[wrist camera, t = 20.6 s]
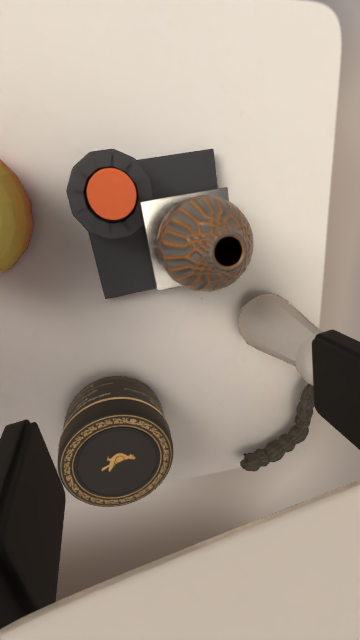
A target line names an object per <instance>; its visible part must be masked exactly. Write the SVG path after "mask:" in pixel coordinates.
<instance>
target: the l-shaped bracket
mask: <svg viewBox="0 0 360 640" xmlns="http://www.w3.org/2000/svg"><path fill="white" fill-rule="evenodd" d="M105 168H115V169H118V170H121V171H123V172H124V173H126V174H127V175H128V176H129V177H130V178H131V180H132V181H133V183H134V186H135V188H136V194H137V198H136V203H135V206H134V208H133V210H132V211H131V213H130V214H129V215H127V216H126V217H124V218H122V219H119V220H108V219H105V218H103V217H101V216H99V215H98V214H97V213H96V212H95V211H94V210H93V209H92V207H91V206H90V204H89V201H88V198H87V186H88V183H89V181H90V179H91V177H92V176H93V175H94V174H95V173H96V172H98V171H99V170H101V169H105ZM213 189H218V186H217V178H216V169H215V160H214V152H213V149H208V150H201V151H195V152H188V153H181V154H175V155H168V156H161V157H154V158H148V159H141V160H136V159H135V158H133V157H131V156H128V155H126V154H124V153H122V152H119V151H117V150H115V149H107V150H100V151H93V152H90V153H88V154H87V155H86V156H85V157H84V158H83V159H81V160H80V161H79V162H78V163H77V164H76V165H75V166H74V167H73V169H72V172H71V175H70V179H69V183H68V187H67V195H68V199H69V203H70V207H71V210H72V214H73V216H74V217H75V218H76V219H77V220H78V221H79V222H80V223H81V224H82V225H83V226H84V227H85V229H86V230H87V231H88V232H89V236H90V240H91V244H92V248H93V252H94V256H95V260H96V264H97V268H98V272H99V276H100V280H101V284H102V288H103V292H104V296H105V299H109V298H113V297H118V296H123V295H127V294H132V293H136V292H141V291H146V290H150V289H155V288H156V283H155V277H154V272H153V267H152V262H151V257H150V252H149V246H148V241H147V236H146V231H145V226H144V221H143V216H142V210H141V205H140V202H143V201H149V200H155V199H160V198H166V197H172V196H178V195H184V194H190V193H196V192H201V191H207V190H213Z"/></svg>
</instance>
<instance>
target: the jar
mask: <svg viewBox="0 0 360 640" xmlns="http://www.w3.org/2000/svg"><path fill="white" fill-rule="evenodd" d="M172 460H173V443H172V438H171V433H170V429H169V426H168V423H167V421H166V419H165V417H164V414H163V411H162V408H161V405H160V403H159V401H158V399H157V398H156V396H155V395H154V394H153V393H152V391H151V390H150V389H149V388H147V387H146V386H145V385H144V384H142V383H141V382H139V381H137V380H135V379H132V378H128V377H122V376H113V377H106V378H102V379H99V380H97V381H95V382H93V383H91V384H89V385H88V386H86V387H85V388H84V389H83V390H82V391H81V392H80V393H79V394H78V395H77V396H76V398H75V399H74V400H73V402H72V403H71V405H70V407H69V409H68V411H67V414H66V417H65V422H64V427H63V432H62V435H61V437H60V441H59V448H58V472H59V476H60V479H61V481H62V483H63V485H64V486H65V488H66V489H67V490H68V491H69V492H70V493H71V494H72V495H73V496H74V497H76V498H77V499H79V500H81V501H83V502H85V503H88V504H91V505H95V506H102V507H113V506H121V505H125V504H129V503H132V502H135V501H137V500H139V499H141V498H143V497H145V496H147V495H148V494H150V493H151V492H152V491H153V490H155V489H156V488H157V487H158V486H159V485H160V484H161V482H162V481H163V480H164V479H165V477H166V475H167V474H168V472H169V469H170V467H171V464H172Z"/></svg>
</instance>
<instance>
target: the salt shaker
mask: <svg viewBox="0 0 360 640" xmlns="http://www.w3.org/2000/svg"><path fill="white" fill-rule="evenodd" d="M239 330H240V334H241V335H242V337H243V338H244V340H245V341H246V343H247V344H248V345H250V346H252V347H254V348H256V349H258V350H260V351H263V352H265V353H267V354H269V355H272V356H274V357H276V358H278V359H281V360H283V361H285V362H287V363H289V364H292V365H294V366H296V368H297V370H298V372H299V374H300V375H301V377H302V378H303V379H304V380H305V381H306V382H307V383H309V384H311V385H313V367H312V340H313V339H315V336H316V335H317V334H319V333H322V332H321V331H320V330H319V329H318V328H317V327H316V326H315V325H314V324H312V323H311V322H310V321H309V320H308V319H307V318H306V317H305V316H304V315H302V314H301V313H300V312H299V311H298V310H297V309H296V308H295V307H294V306H293V305H291V304H290V303H289V302H288V301H287V300H285V299H283V298H282V297H280V296H278V295H270V294H262V295H259V296H257V297H255V298H253V299H252V300H251V301H249V302H248V303H247V304H245V305H244V306H243V307H241V313H240V318H239Z"/></svg>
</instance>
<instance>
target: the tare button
mask: <svg viewBox="0 0 360 640" xmlns="http://www.w3.org/2000/svg"><path fill="white" fill-rule="evenodd" d="M87 198H88V201H89V204H90V206H91V207H92V209H93V210H94V211H95V212H96V213H97V214H98V215H99V216H101V217H103V218H105V219H108V220H119V219H122V218H124V217H126V216H127V215H129V214H130V213H131V211H132V210H133V208H134V206H135V203H136V198H137V194H136V188H135V186H134V183H133V181H132V180H131V178H130V177H129V176H128V175H127V174H126V173H124V172H123V171H121V170H118V169H115V168H105V169H101V170H99V171H98V172H96V173H95V174H94V175H93V176H92V177H91V179H90V181H89V183H88V186H87Z"/></svg>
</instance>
